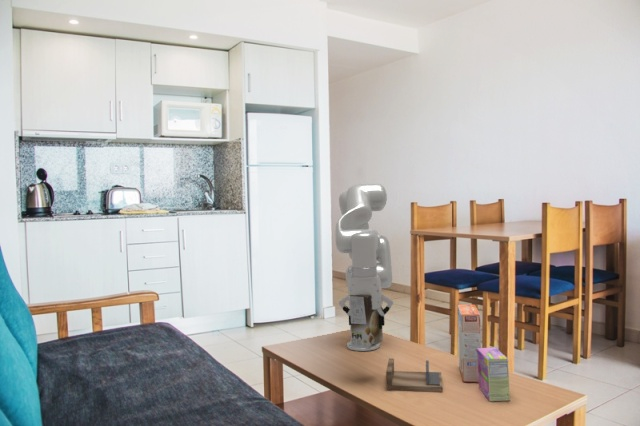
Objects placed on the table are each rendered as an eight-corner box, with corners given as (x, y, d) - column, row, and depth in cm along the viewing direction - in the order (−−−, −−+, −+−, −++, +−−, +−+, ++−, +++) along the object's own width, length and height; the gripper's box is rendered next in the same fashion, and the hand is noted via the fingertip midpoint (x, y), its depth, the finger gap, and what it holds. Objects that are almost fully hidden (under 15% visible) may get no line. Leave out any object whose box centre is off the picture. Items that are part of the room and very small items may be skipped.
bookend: (426, 373, 157) (425, 360, 157) (438, 373, 156) (438, 360, 156) (426, 385, 147) (426, 371, 147) (439, 385, 147) (439, 372, 146)
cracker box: (483, 383, 151) (480, 314, 150) (462, 382, 152) (459, 313, 151) (478, 367, 165) (476, 303, 164) (459, 366, 166) (456, 303, 165)
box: (478, 387, 148) (476, 347, 148) (497, 387, 148) (496, 347, 147) (488, 402, 138) (487, 359, 137) (510, 401, 137) (508, 358, 137)
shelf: (389, 375, 161) (389, 358, 160) (441, 377, 157) (440, 359, 157) (386, 390, 149) (386, 371, 149) (442, 392, 146) (441, 373, 145)
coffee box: (369, 349, 152) (367, 297, 151) (351, 346, 156) (348, 295, 154) (383, 341, 159) (381, 290, 158) (365, 338, 163) (363, 289, 162)
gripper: (334, 274, 154) (337, 330, 155) (392, 274, 150) (394, 331, 152) (338, 270, 161) (341, 323, 163) (393, 269, 158) (395, 324, 159)
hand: (366, 327), depth 157 cm, fingers closed on coffee box, 8 cm apart
